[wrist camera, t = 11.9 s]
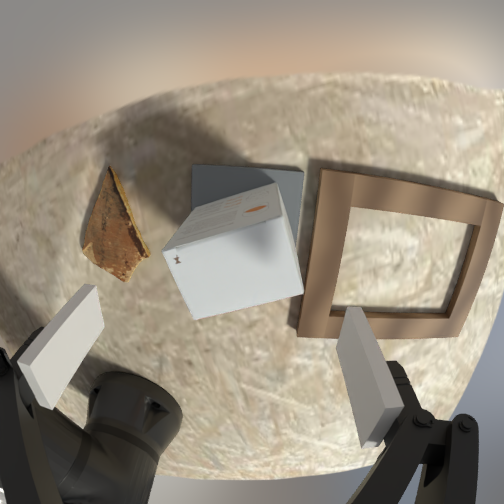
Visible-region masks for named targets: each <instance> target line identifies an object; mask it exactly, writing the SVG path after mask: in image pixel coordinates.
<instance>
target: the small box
mask: <svg viewBox="0 0 504 504" xmlns="http://www.w3.org/2000/svg"><path fill="white" fill-rule="evenodd" d="M162 253H163V255H164V258H165V260H166V262H167V264H168V267H169V269H170V271H171V273H172V275H173V278H174V280H175V282H176V284H177V286H178V288H179V290H180V292H181V295H182V297H183V299H184V301H185V303H186V305H187V307H188V309H189V311H190V313H191V315H192V317H193V319H194V320H198V319H202V318H207V317H211V316H216V315H220V314H224V313H229V312H233V311H237V310H241V309H245V308H250V307H254V306H258V305H262V304H266V303H270V302H274V301H277V300H281V299H285V298H289V297H293V296H297V295H301V294H303V293H304V288H303V283H302V278H301V273H300V268H299V262H298V256H297V252H296V248H295V243H294V239H293V235H292V231H291V227H290V223H289V220H288V216H287V213H286V210H285V206H284V203H283V200H282V197H281V194H280V191H279V187H278V184H277V183H276V182H275V183H272V184H269V185H265V186H262V187H259V188H255V189H252V190H249V191H246V192H242V193H239V194H236V195H233V196H230V197H226V198H223V199H220V200H217V201H214V202H211V203H208V204H205V205H202V206H198V207H196V208H195V209H194V210H193V211H192V212H191V213H190V215H189V216H188V217H187V218H186V220H185V221H184V222H183V223H182V225H181V226H180V227H179V229H178V230H177V231H176V233H175V234H174V235H173V237H172V238H171V239H170V240H169V242H168V243H167V244H166V246H165V247H164V248H163V249H162Z"/></svg>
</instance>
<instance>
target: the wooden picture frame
mask: <svg viewBox="0 0 504 504" xmlns="http://www.w3.org/2000/svg"><path fill="white" fill-rule="evenodd" d="M350 207H358V208H367V209H375V210H382V211H390V212H397V213H404V214H411V215H418V216H425V217H431V218H438V219H444V220H450V221H456V222H462V223H468V224H473V225H475V226H474V229H473V233H472V237H471V240H470V244H469V247H468V251H467V254H466V257H465V261H464V264H463V267H462V270H461V273H460V276H459V279H458V282H457V284H456V287H455V290H454V293H453V295H452V298H451V301H450V303H449V306H448V308H447V311H446V313H386V312H364V314H365V316H366V318H367V320H368V323H369V325H370V327H371V329H372V331H373V333H374V336H375V338H376V339H423V338H447V337H458V336H459V334H460V331H461V329H462V327H463V325H464V323H465V320H466V318H467V316H468V314H469V311H470V309H471V306H472V304H473V302H474V299H475V297H476V294H477V291H478V289H479V286H480V284H481V281H482V278H483V275H484V272H485V270H486V267H487V264H488V261H489V258H490V254H491V251H492V248H493V245H494V241H495V238H496V234H497V231H498V227H499V223H500V219H501V215H502V211H503V207H504V204H503V203H501V202H499V201H496V200H492V199H488V198H484V197H480V196H476V195H472V194H468V193H463V192H459V191H455V190H450V189H445V188H441V187H436V186H431V185H426V184H421V183H416V182H410V181H405V180H399V179H393V178H387V177H381V176H375V175H369V174H362V173H355V172H348V171H340V170H332V169H324V168H320V176H319V185H318V193H317V201H316V209H315V216H314V224H313V231H312V238H311V245H310V252H309V258H308V265H307V271H306V277H305V283H304V293H303V296H302V301H301V307H300V313H299V318H298V324H297V329H296V332H297V337H306V338H332V339H339V336H340V332H341V329H342V325H343V321H344V317H345V313H346V311H332V310H330V309H331V305H332V300H333V296H334V291H335V287H336V282H337V277H338V273H339V268H340V263H341V258H342V252H343V247H344V242H345V236H346V231H347V225H348V219H349V213H350Z"/></svg>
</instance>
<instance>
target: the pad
mask: <svg viewBox="0 0 504 504" xmlns="http://www.w3.org/2000/svg"><path fill="white" fill-rule="evenodd" d="M303 180H304V172H302V171H292V170H281V169H270V168H257V167H242V166H225V165H203V164H193V165H192V198H191V212H192V211H193V210H194V209H195V208H196V207H198V206H202V205H205V204H208V203H211V202H214V201H217V200H220V199H223V198H226V197H230V196H233V195H236V194H239V193H242V192H246V191H249V190H252V189H255V188H259V187H262V186H265V185H269V184H272V183H275V182H276V183H277V184H278V187H279V191H280V194H281V197H282V200H283V203H284V206H285V210H286V213H287V216H288V220H289V223H290V227H291V231H292V235H293V239H294V243H295V248H296V240H297V232H298V224H299V216H300V207H301V198H302V189H303Z"/></svg>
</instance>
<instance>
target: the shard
mask: <svg viewBox="0 0 504 504" xmlns="http://www.w3.org/2000/svg"><path fill="white" fill-rule="evenodd" d="M84 239H85V242H84V245H83V249H82V251H83V254H84V255H85V256H86V257H87V258H88V259H90V260H91V261H92V262H93V263H94V264H96V265H97V266H99V267H100V268H102V269H104V270H106V271H107V272H109V273H111V274H112V275H114V276H116V277H117V278H118V279H120V280H121V281H123V282H129V280H130V278H131V276H132V274H133V272H134V270H135V268H136V267H137V265H138V264H139V263H140V262H141V261H142V260H143V259H145V258H148V257H149V256H150V251H149V249H148V248H147V246H146V245H145V243H144V241H143V239H142V237H141V233H140V231H139V230H138V229H137V227H136V224H135V221H134V218H133V214H132V211H131V209H130V206H129V204H128V200H127V197H126V195H125V192H124V189H123V187H122V185H121V183H120V181H119V179H118V176H117V175H116V173H115V172H114V170H113V169H112V168H111V166H109V167H108V170H107V174H106V176H105V179H104V181H103V184H102V189H101V191H100V194H99V197H98V199H97V201H96V203H95V206H94V208H93V211H92V214H91V217H90V219H89V223H88V228H87V230H86V234H85V238H84Z"/></svg>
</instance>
